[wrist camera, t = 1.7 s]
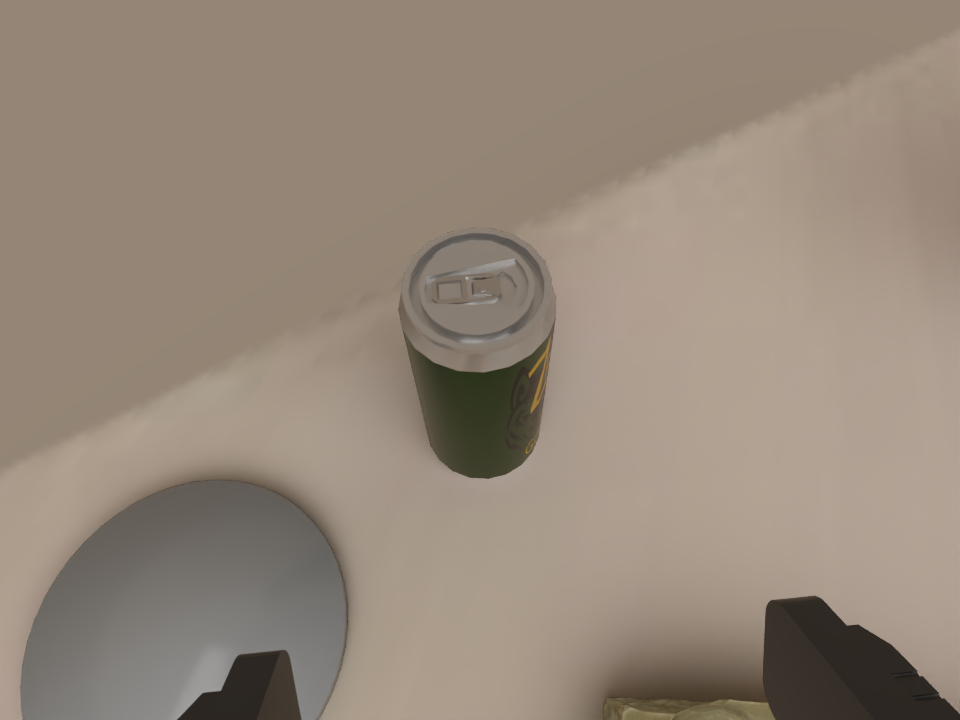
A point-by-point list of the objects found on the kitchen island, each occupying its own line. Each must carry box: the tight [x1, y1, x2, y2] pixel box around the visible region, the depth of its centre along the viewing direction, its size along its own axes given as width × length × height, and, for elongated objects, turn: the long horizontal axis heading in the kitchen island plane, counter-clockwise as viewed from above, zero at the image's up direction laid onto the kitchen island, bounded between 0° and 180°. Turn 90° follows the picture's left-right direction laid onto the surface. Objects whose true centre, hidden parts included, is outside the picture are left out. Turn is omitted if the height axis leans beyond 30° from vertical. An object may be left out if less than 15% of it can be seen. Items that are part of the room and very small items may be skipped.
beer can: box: [398, 228, 556, 479], centre depth 26 cm, size 5×5×12 cm
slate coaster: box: [20, 480, 348, 720], centre depth 27 cm, size 13×13×1 cm
